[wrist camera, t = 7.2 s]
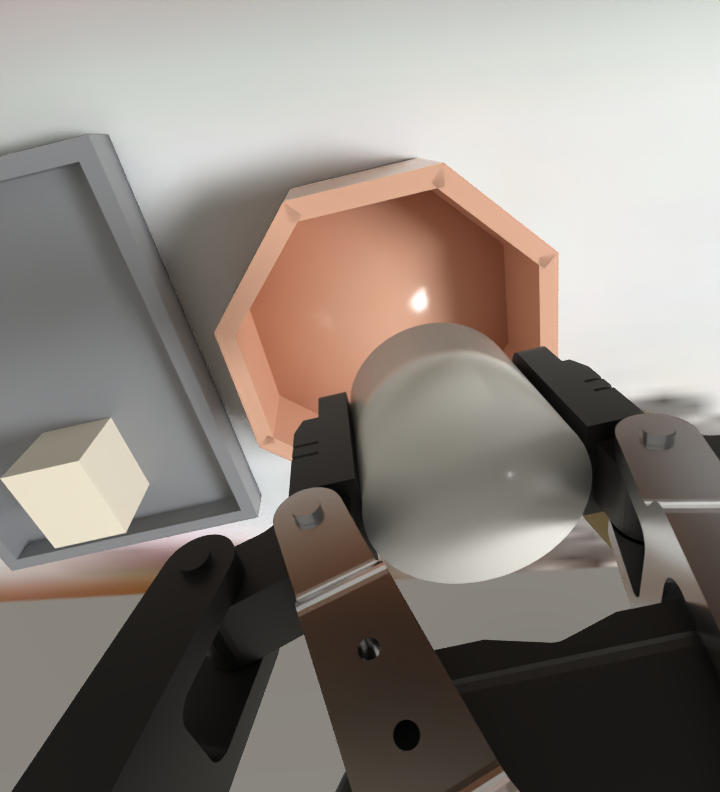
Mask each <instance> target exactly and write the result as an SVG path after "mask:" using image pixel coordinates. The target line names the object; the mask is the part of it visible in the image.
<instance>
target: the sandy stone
mask: <svg viewBox="0 0 720 792" xmlns="http://www.w3.org/2000/svg"><path fill="white" fill-rule="evenodd" d="M0 479H1V480H2V482H3V483H4V484H5V485H6V487H7V488H8V489H9V491H10V492H11V493H12V494H13V496H14V497H15V498H16V499H17V501H18V502H19V503H20V504H21V506H22V507H23V508H24V510H25V511H26V512H27V513H28V515H29V516H30V517H31V518H32V520H33V521H34V522H35V524H36V525H37V526H38V527H39V529H40V530H41V531H42V532H43V534H44V535H45V536H46V538H47V539H48V540H49V541H50V543H51V544H52V545H53V546H54V548H59V547H64V546H68V545H73V544H77V543H82V542H87V541H91V540H96V539H100V538H105V537H109V536H114V535H118V534H123V533H126V532H127V530H128V527H129V525H130V523H131V521H132V519H133V517H134V515H135V513H136V511H137V509H138V507H139V505H140V503H141V501H142V499H143V497H144V494H145V492H146V490H147V488H148V486H149V482H148V481H147V479H146V477H145V476H144V474H143V472H142V470H141V469H140V467H139V465H138V463H137V462H136V460H135V458H134V457H133V455H132V453H131V451H130V450H129V448H128V446H127V444H126V443H125V441H124V439H123V438H122V436H121V434H120V432H119V431H118V429H117V427H116V425H115V424H114V422H113V420H112V419H111V417H110V418H106V419H101V420H97V421H92V422H88V423H84V424H79V425H75V426H71V427H66V428H62V429H57V430H53V431H49V432H44V433H42V434H41V435H40V436H39V437H38V439H37V440H36V441H35V442H34V443H33V444H32V445H31V446H30V447H29V448H28V449H27V450H26V451H25V452H24V454H23V455H22V456H21V457H20V458H19V459H18V460H17V461H16V462H15V463H14V464H13V465H12V466H11V467H10V469H9V470H8V471H7V472H6V473H5V474H4V475H3V476H2V477H1V478H0Z"/></svg>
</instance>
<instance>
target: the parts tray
mask: <svg viewBox="0 0 720 792" xmlns="http://www.w3.org/2000/svg"><path fill="white" fill-rule="evenodd" d="M110 417H111V419H112V420H113V422H114V424H115V425H116V427H117V429H118V431H119V432H120V434H121V436H122V438H123V439H124V441H125V443H126V444H127V446H128V448H129V450H130V451H131V453H132V455H133V457H134V458H135V460H136V462H137V463H138V465H139V467H140V469H141V470H142V472H143V474H144V476H145V477H146V479H147V481H148V482H149V486H148V488H147V490H146V492H145V494H144V497H143V499H142V501H141V503H140V505H139V507H138V509H137V511H136V513H135V515H134V517H133V519H132V521H131V523H130V525H129V527H128V530H127V532H126V533H123V534H118V535H114V536H109V537H105V538H100V539H96V540H91V541H87V542H82V543H77V544H73V545H68V546H64V547H59V548H54V546H53V545H52V544H51V543H50V541H49V540H48V539H47V538H46V536H45V535H44V534H43V532H42V531H41V530H40V529H39V527H38V526H37V525H36V524H35V522H34V521H33V520H32V518H31V517H30V516H29V515H28V513H27V512H26V511H25V510H24V508H23V507H22V506H21V504H20V503H19V502H18V501H17V499H16V498H15V497H14V496H13V494H12V493H11V492H10V491H9V489H8V488H7V487H6V485H5V484H4V483H3V482H2V480H1V479H0V558H1V559H2V560H3V561H4V563H5V564H6V565H7V566H8V567H9V568H10V569H11V570H12V571H14V570H18V569H23V568H27V567H32V566H36V565H41V564H46V563H50V562H55V561H59V560H64V559H69V558H73V557H78V556H82V555H87V554H91V553H96V552H101V551H105V550H110V549H114V548H119V547H123V546H128V545H133V544H137V543H142V542H146V541H151V540H156V539H160V538H165V537H169V536H174V535H178V534H183V533H188V532H192V531H197V530H201V529H206V528H210V527H215V526H220V525H224V524H229V523H233V522H238V521H242V520H247V519H252V518H256V517H258V514H259V507H260V501H261V493H260V491H259V488H258V486H257V484H256V481H255V479H254V477H253V474H252V472H251V470H250V467H249V465H248V463H247V460H246V458H245V455H244V453H243V451H242V448H241V446H240V444H239V441H238V439H237V437H236V434H235V432H234V430H233V427H232V425H231V422H230V420H229V418H228V415H227V413H226V411H225V408H224V406H223V404H222V401H221V399H220V397H219V394H218V392H217V389H216V387H215V385H214V382H213V380H212V378H211V375H210V373H209V371H208V368H207V366H206V364H205V361H204V359H203V356H202V354H201V352H200V349H199V347H198V345H197V342H196V340H195V338H194V335H193V333H192V331H191V328H190V326H189V324H188V321H187V319H186V316H185V314H184V312H183V309H182V307H181V305H180V302H179V300H178V298H177V295H176V293H175V291H174V288H173V286H172V283H171V281H170V279H169V276H168V274H167V272H166V269H165V267H164V265H163V262H162V260H161V258H160V255H159V253H158V250H157V248H156V246H155V243H154V241H153V239H152V236H151V234H150V232H149V229H148V227H147V225H146V222H145V220H144V217H143V215H142V213H141V210H140V208H139V206H138V203H137V201H136V199H135V196H134V194H133V192H132V189H131V187H130V184H129V182H128V180H127V177H126V175H125V173H124V170H123V168H122V166H121V163H120V161H119V159H118V156H117V154H116V151H115V149H114V147H113V144H112V142H111V140H110V137H109V135H99V134H87V135H83V136H79V137H75V138H71V139H67V140H63V141H59V142H55V143H51V144H47V145H43V146H39V147H35V148H31V149H27V150H23V151H19V152H15V153H11V154H7V155H3V156H0V478H1V477H2V476H3V475H4V474H5V473H6V472H7V471H8V470H9V469H10V467H11V466H12V465H13V464H14V463H15V462H16V461H17V460H18V459H19V458H20V457H21V456H22V455H23V454H24V452H25V451H26V450H27V449H28V448H29V447H30V446H31V445H32V444H33V443H34V442H35V441H36V440H37V439H38V437H39V436H40V435H41V434H42V433H44V432H49V431H53V430H57V429H62V428H66V427H71V426H75V425H79V424H84V423H88V422H92V421H97V420H101V419H106V418H110Z"/></svg>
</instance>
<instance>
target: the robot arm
mask: <svg viewBox="0 0 720 792" xmlns="http://www.w3.org/2000/svg"><path fill="white" fill-rule="evenodd" d="M512 362H513V363H514V364H515V366H516V367H517V368H518V369H519V370H520V371H521V372H522V373H523V375H524V376H525V377H526V378H527V379H528V380H529V381H530V382H531V384H532V385H533V386H534V387H535V388H536V389H537V390H538V391H539V393H540V394H541V395H542V396H543V397H544V398H545V399H546V401H547V402H548V403H549V404H550V405H551V406H552V407H553V408H554V410H555V411H556V412H557V413H558V414H559V415H560V416H561V417H562V419H563V420H564V421H565V422H566V423H567V424H568V425H569V426H570V428H571V429H572V430H573V431H574V432H575V433H576V434H577V435H578V437H579V438H580V440H581V441H582V443H583V444H584V446H585V448H586V450H587V452H588V455H589V458H590V462H591V466H592V486H591V492H590V496H589V499H588V503H587V505H586V507H585V509H584V511H583V514H584V516H585V515H589V514H594V513H599V512H603V511H604V513H605V514H606V515H607V517H608V518H609V524H608V535H609V539H610V542H611V546H612V549H613V552H614V555H615V558H616V562H617V565H618V568H619V571H620V575H621V578H622V581H623V584H624V588H625V591H626V594H627V597H628V601H629V604H630V607H631V609H628V610H624V611H619V612H615V613H614V614H612V615H610V616H608V617H606V618H604V619H602V620H600V621H598V622H597V623H595V624H593V625H591V626H589V627H587V628H585V629H583V630H582V631H580V632H578V633H576V634H574V635H572V636H570V637H568V638H567V639H565V640H562V641H560V642H555V643H544V642H522V641H499V640H481V641H476V642H472V643H466V644H462V645H457V646H452V647H447V648H443V649H438V650H434V649H433V647H432V646H431V644H430V642H429V641H428V639H427V637H426V635H425V633H424V632H423V630H422V628H421V626H420V625H419V623H418V621H417V620H416V618H415V616H414V614H413V612H412V611H411V609H410V607H409V605H408V604H407V602H406V600H405V599H404V597H403V595H402V594H401V592H400V590H399V588H398V586H397V585H396V583H395V581H394V579H393V578H392V576H391V574H390V572H389V571H388V569H387V568H386V566H385V565H384V563H383V562H382V561H378V562H376V560H378V554H377V551H376V550H375V549H374V547H373V546H372V544H371V542H370V541H369V539H368V536H367V534H366V531H365V528H364V523H363V518H362V500H361V492H360V484H359V475H358V467H357V459H356V450H355V442H354V434H353V426H352V417H351V409H350V403H349V400H348V396H347V393H346V392H342V393H338V394H333V395H329V396H325V397H320V398H319V399H318V417H317V418H313V419H308V420H304V421H302V423H301V424H300V426H299V427H298V429H297V430H296V432H295V433H294V440H293V452H292V459H293V460H292V464H291V476H290V488H289V497H288V498H287V499H286V500H285V501H284V502H283V503H282V504H281V505H280V506H279V507H278V509H277V510H276V512H275V515H274V518H273V526H272V527H271V528H269V529H268V530H266V531H265V532H263V533H261V534H260V535H258V536H256V537H254V538H252V539H249V540H247V541H245V542H243V543H241V544H239V545H237V546H235V547H234V545H233V543H232V541H231V540H230V539H229V538H227V537H225V536H222V535H206V536H202V537H199V538H196V539H194V540H192V541H190V542H188V543H187V544H185V545H183V546H182V547H181V548H179V549H178V550H177V551H176V552H175V553H174V554H173V555H172V556H171V557H170V558H169V559H168V560H167V562H166V563H165V565H164V566H163V567H162V569H161V570H160V572H159V573H158V575H157V576H156V578H155V579H154V581H153V582H152V584H151V585H150V587H149V588H148V590H147V591H146V593H145V594H144V596H143V597H142V599H141V600H140V602H139V603H138V605H137V606H136V608H135V609H134V611H133V612H132V614H131V615H130V616H129V618H128V620H127V621H126V622H125V624H124V625H123V627H122V628H121V630H120V631H119V633H118V634H117V636H116V637H115V639H114V640H113V642H112V643H111V645H110V646H109V648H108V649H107V651H106V652H105V654H104V655H103V657H102V658H101V660H100V661H99V663H98V664H97V666H96V667H95V668H94V670H93V671H92V673H91V675H90V676H89V677H88V679H87V680H86V682H85V683H84V685H83V686H82V688H81V689H80V691H79V692H78V694H77V695H76V697H75V698H74V700H73V701H72V703H71V704H70V706H69V707H68V709H67V710H66V712H65V713H64V715H63V716H62V718H61V719H60V721H59V722H58V723H57V725H56V726H55V728H54V729H53V731H52V732H51V734H50V735H49V737H48V738H47V740H46V741H45V743H44V744H43V746H42V747H41V749H40V750H39V752H38V753H37V755H36V756H35V758H34V759H33V761H32V762H31V763H30V765H29V766H28V768H27V770H26V771H25V772H24V774H23V775H22V777H21V778H20V780H19V781H18V783H17V784H16V786H15V787H14V789H13V790H12V792H229V790H230V787H231V784H232V782H233V779H234V776H235V773H236V770H237V767H238V765H239V762H240V759H241V757H242V754H243V751H244V748H245V745H246V743H247V740H248V737H249V734H250V731H251V728H252V725H253V723H254V720H255V717H256V715H257V712H258V709H259V706H260V703H261V700H262V698H263V695H264V692H265V689H266V687H267V684H268V681H269V678H270V675H271V672H272V670H273V667H274V664H275V661H276V659H277V656H278V652H279V648H280V647H282V646H283V645H285V644H287V643H289V642H291V641H293V640H294V639H296V638H298V637H300V636H302V635H303V634H304V636H305V639H306V643H307V646H308V649H309V652H310V656H311V659H312V662H313V665H314V669H315V672H316V675H317V679H318V682H319V685H320V688H321V692H322V695H323V698H324V701H325V705H326V708H327V711H328V714H329V718H330V721H331V724H332V727H333V731H334V734H335V737H336V740H337V744H338V747H339V750H340V754H341V757H342V760H343V763H344V767H345V770H346V771H345V773H344V775H343V777H342V779H341V782H340V784H339V786H338V788H337V790H336V792H720V435H716V436H707V435H702V434H701V433H700V432H699V430H698V429H697V428H696V427H694V426H693V425H692V424H690V423H688V422H687V421H684V420H682V419H680V418H677V417H673V416H669V415H664V414H654V413H647V414H645V413H644V412H643V411H642V410H640V409H639V408H638V407H637V406H636V405H634V404H633V403H632V402H631V401H630V400H628V399H627V398H626V397H625V396H623V395H622V394H621V393H620V392H619V391H617V390H616V389H615V388H612V387H611V385H610V384H609V383H608V382H607V381H605V380H604V379H601V377H600V376H599V375H598V374H597V373H596V372H594V371H593V370H592V369H591V368H590V367H588V366H586V365H583V364H580V363H577V362H575V361H572V360H566V361H561V360H560V359H559V358H558V357H557V356H555V355H554V354H553V353H552V352H551V351H550V350H549V349H548V348H546V347H545V346H542V347H537V348H533V349H529V350H524V351H520V352H516V353H514V354H513V357H512Z"/></svg>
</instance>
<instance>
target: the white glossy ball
mask: <svg viewBox="0 0 720 792" xmlns="http://www.w3.org/2000/svg"><path fill="white" fill-rule="evenodd" d="M350 409H351V417H352V426H353V434H354V442H355V450H356V459H357V467H358V475H359V484H360V492H361V500H362V518H363V523H364V528H365V531H366V534H367V536H368V539H369V541H370V542H371V544H372V546H373V547H374V549H375V550H376V551H377V552H378V554H379V555H380V556H381V557H382V558H383V559H384V560H385V561H387V562H388V563H389V564H390V565H392V566H393V567H395V568H396V569H398V570H400V571H402V572H404V573H406V574H408V575H410V576H413V577H416V578H419V579H422V580H427V581H432V582H439V583H472V582H478V581H485V580H489V579H493V578H497V577H501V576H503V575H506V574H509V573H512V572H514V571H517V570H519V569H521V568H523V567H525V566H527V565H529V564H531V563H533V562H534V561H536V560H538V559H539V558H541V557H542V556H544V555H545V554H547V553H548V552H549V551H551V550H552V549H553V548H554V547H555V546H557V545H558V544H559V543H560V542H561V541H562V540H563V539H564V538H565V537H566V536H567V535H568V534H569V532H570V531H571V530H572V529H573V527H574V526H575V525H576V523H577V522H578V520H579V518H580V517H581V515H582V514H583V511H584V509H585V507H586V505H587V503H588V499H589V496H590V492H591V486H592V466H591V462H590V458H589V455H588V452H587V450H586V448H585V446H584V444H583V443H582V441H581V440H580V438H579V437H578V435H577V434H576V433H575V432H574V431H573V430H572V429H571V428H570V426H569V425H568V424H567V423H566V422H565V421H564V420H563V419H562V417H561V416H560V415H559V414H558V413H557V412H556V411H555V410H554V408H553V407H552V406H551V405H550V404H549V403H548V402H547V401H546V399H545V398H544V397H543V396H542V395H541V394H540V393H539V391H538V390H537V389H536V388H535V387H534V386H533V385H532V384H531V382H530V381H529V380H528V379H527V378H526V377H525V376H524V375H523V373H522V372H521V371H520V370H519V369H518V368H517V367H516V366H515V364H514V363H513V362H512V361H511V360H510V359H509V358H508V357H507V355H506V354H505V353H504V352H503V351H502V350H501V349H500V348H499V347H498V346H497V344H496V343H495V342H494V341H493V340H491V339H490V338H489V337H487V336H486V335H485V334H483V333H481V332H479V331H477V330H475V329H472V328H470V327H467V326H464V325H459V324H454V323H429V324H423V325H418V326H415V327H412V328H408V329H406V330H404V331H401V332H399V333H397V334H395V335H394V336H392V337H390V338H388V339H387V340H386V341H384V342H383V343H382V344H380V345H379V346H378V347H377V348H376V349H375V350H374V351H373V352H372V353H371V354H370V355H369V356H368V357H367V358H366V360H365V361H364V362H363V364H362V365H361V367H360V369H359V370H358V372H357V374H356V377H355V379H354V381H353V385H352V389H351V393H350Z"/></svg>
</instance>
